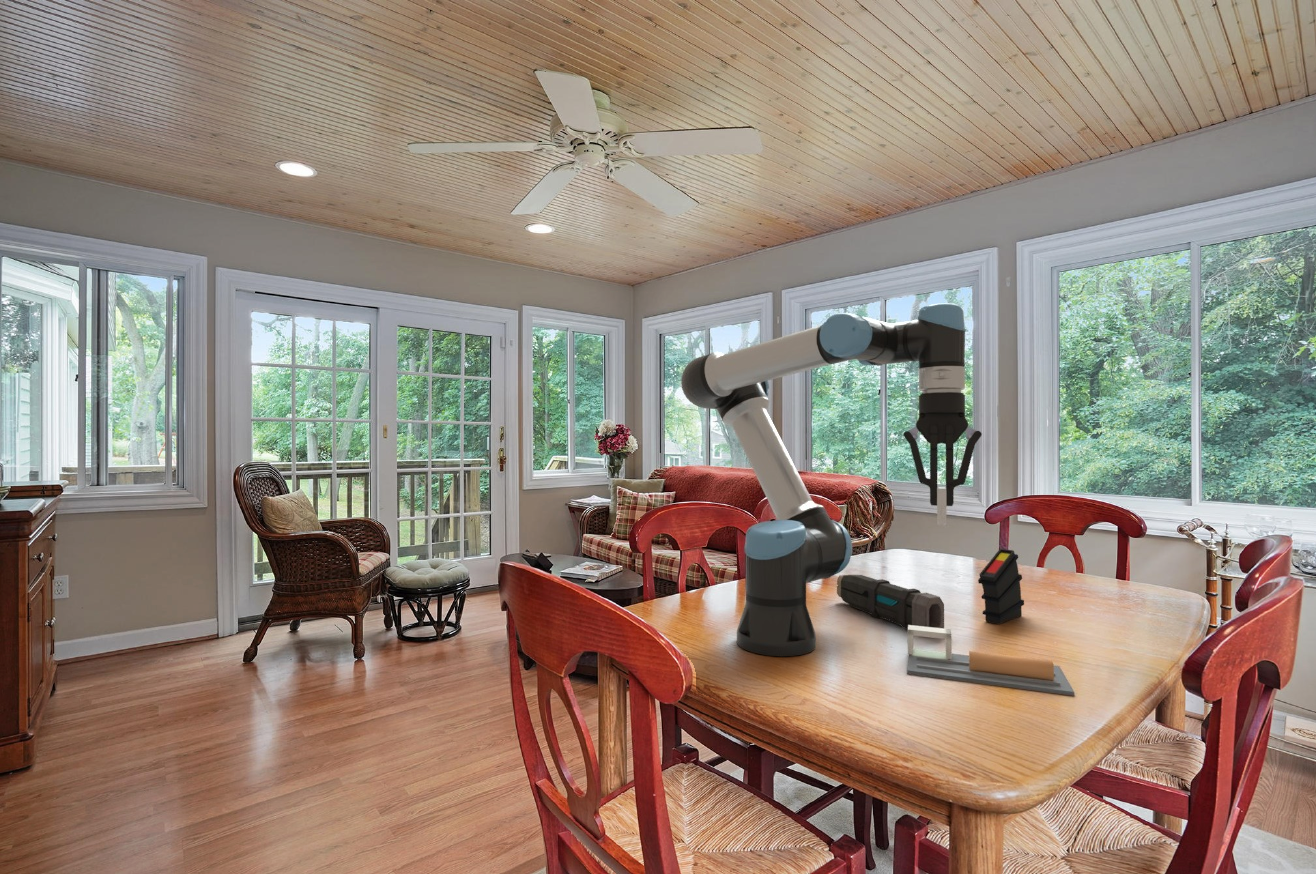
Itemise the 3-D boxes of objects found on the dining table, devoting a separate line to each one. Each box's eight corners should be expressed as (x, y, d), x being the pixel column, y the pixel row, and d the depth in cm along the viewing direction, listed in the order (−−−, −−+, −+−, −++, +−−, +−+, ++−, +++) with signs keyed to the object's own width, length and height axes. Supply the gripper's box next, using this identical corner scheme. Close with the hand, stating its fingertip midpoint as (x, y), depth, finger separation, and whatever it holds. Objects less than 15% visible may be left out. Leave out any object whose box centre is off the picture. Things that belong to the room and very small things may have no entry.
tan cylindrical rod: (969, 675, 106) (970, 660, 105) (968, 661, 108) (969, 646, 107) (1053, 685, 101) (1054, 670, 100) (1050, 671, 104) (1051, 656, 103)
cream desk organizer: (908, 649, 117) (908, 624, 117) (951, 654, 114) (950, 629, 114) (907, 654, 114) (907, 629, 114) (951, 659, 111) (951, 634, 111)
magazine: (1030, 606, 142) (1016, 549, 139) (1005, 642, 135) (990, 583, 131) (1012, 603, 145) (999, 547, 142) (988, 637, 138) (972, 580, 134)
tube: (858, 612, 155) (955, 631, 127) (837, 622, 153) (931, 643, 125) (845, 569, 155) (940, 579, 128) (824, 578, 153) (916, 590, 125)
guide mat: (907, 673, 107) (907, 667, 107) (909, 651, 118) (909, 646, 118) (1074, 695, 97) (1074, 689, 97) (1059, 669, 108) (1059, 663, 108)
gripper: (901, 392, 112) (901, 525, 112) (984, 389, 106) (984, 529, 106) (903, 394, 118) (903, 519, 119) (981, 392, 113) (981, 523, 113)
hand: (941, 524), depth 112 cm, fingers closed
